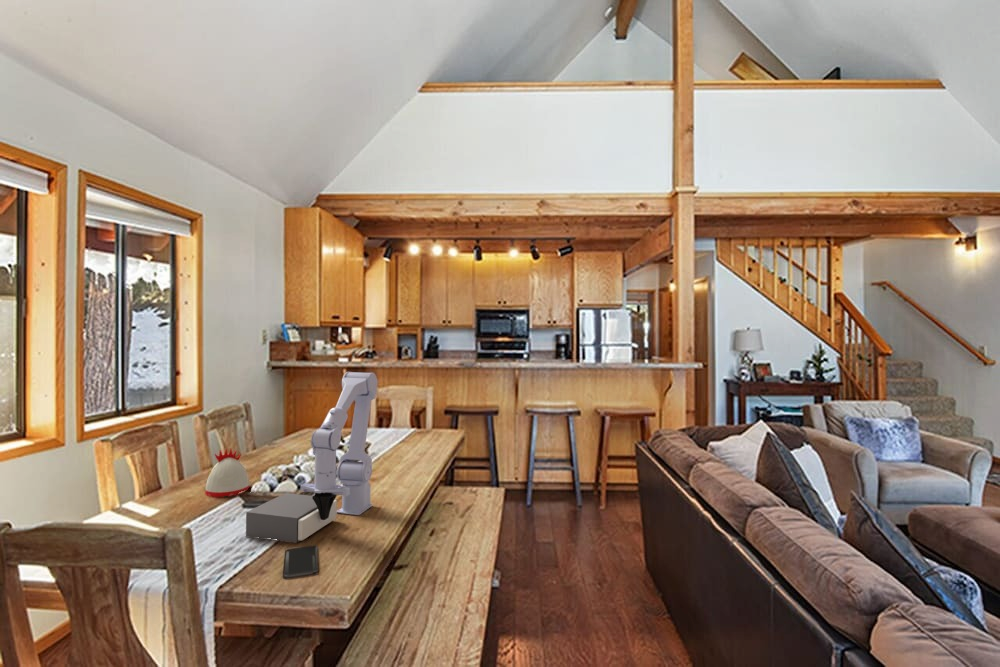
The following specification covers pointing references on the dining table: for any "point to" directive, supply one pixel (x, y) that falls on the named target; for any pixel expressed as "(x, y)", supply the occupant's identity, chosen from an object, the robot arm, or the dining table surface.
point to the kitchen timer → (227, 476)
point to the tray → (314, 522)
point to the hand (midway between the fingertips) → (324, 518)
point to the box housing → (279, 517)
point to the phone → (300, 562)
